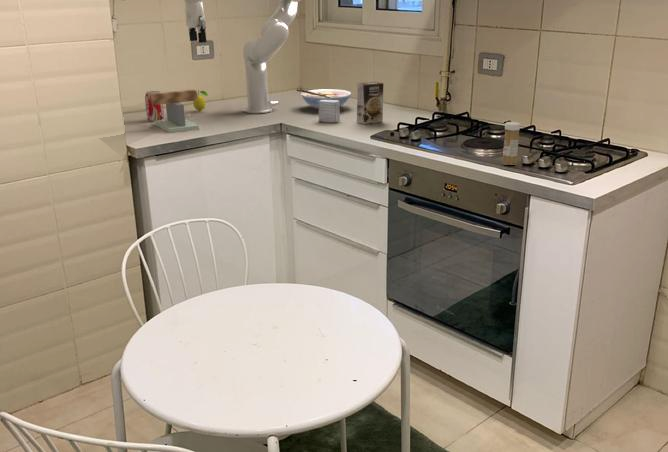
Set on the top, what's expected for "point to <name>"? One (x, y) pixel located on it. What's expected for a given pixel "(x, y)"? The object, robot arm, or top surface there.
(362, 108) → the coffee box
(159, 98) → the walnut bar
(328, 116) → the medicine box
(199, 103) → the lemon
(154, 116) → the soda can
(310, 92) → the ramen bowl
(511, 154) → the sprinkles bottle
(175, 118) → the stand
